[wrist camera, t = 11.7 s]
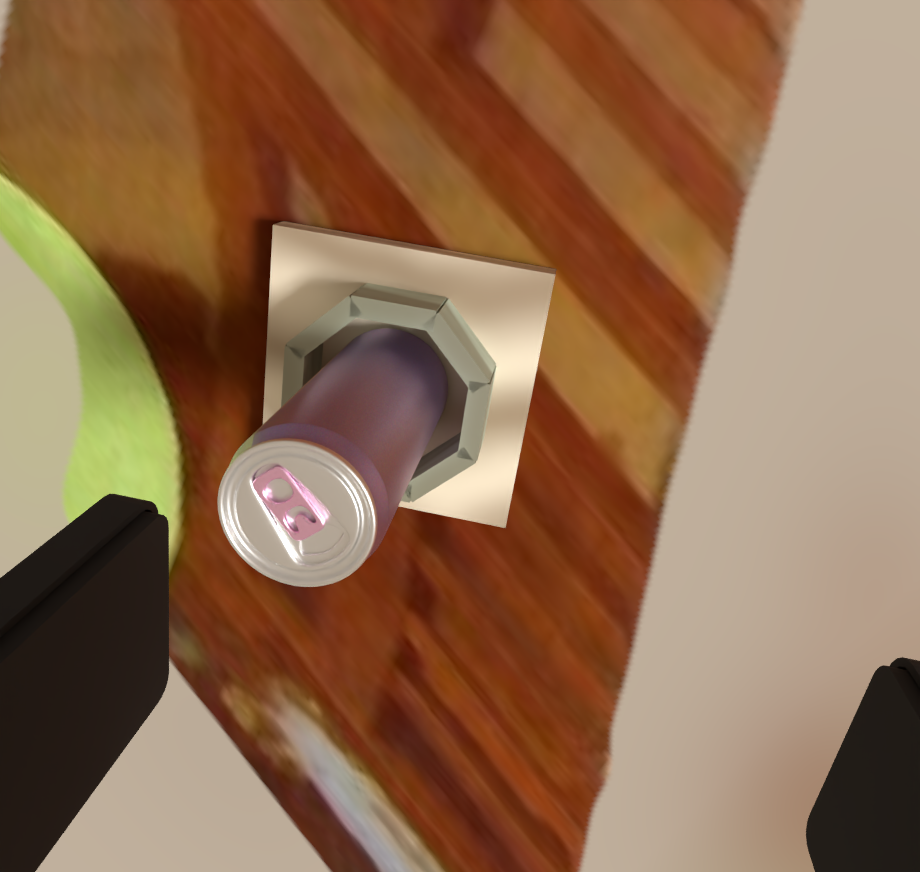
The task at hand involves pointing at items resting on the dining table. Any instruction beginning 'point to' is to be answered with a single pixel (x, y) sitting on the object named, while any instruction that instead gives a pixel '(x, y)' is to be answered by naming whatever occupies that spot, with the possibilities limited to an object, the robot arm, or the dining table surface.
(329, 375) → the beverage can
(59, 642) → the robot arm
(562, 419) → the dining table surface
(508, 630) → the dining table surface
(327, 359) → the can holder
